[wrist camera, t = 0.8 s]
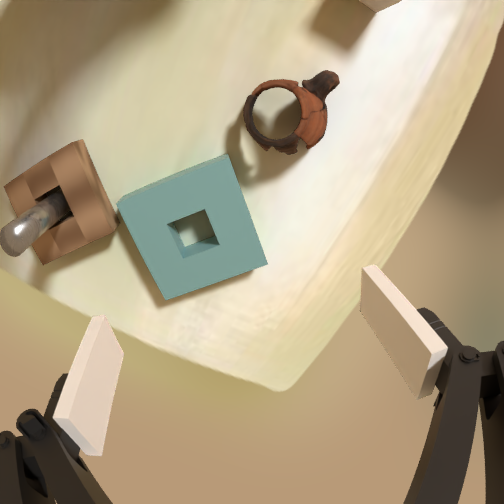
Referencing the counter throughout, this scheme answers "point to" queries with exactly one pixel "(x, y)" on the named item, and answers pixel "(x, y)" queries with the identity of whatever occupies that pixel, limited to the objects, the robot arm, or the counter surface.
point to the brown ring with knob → (311, 111)
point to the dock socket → (184, 204)
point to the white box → (379, 4)
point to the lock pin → (33, 223)
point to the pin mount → (76, 193)
